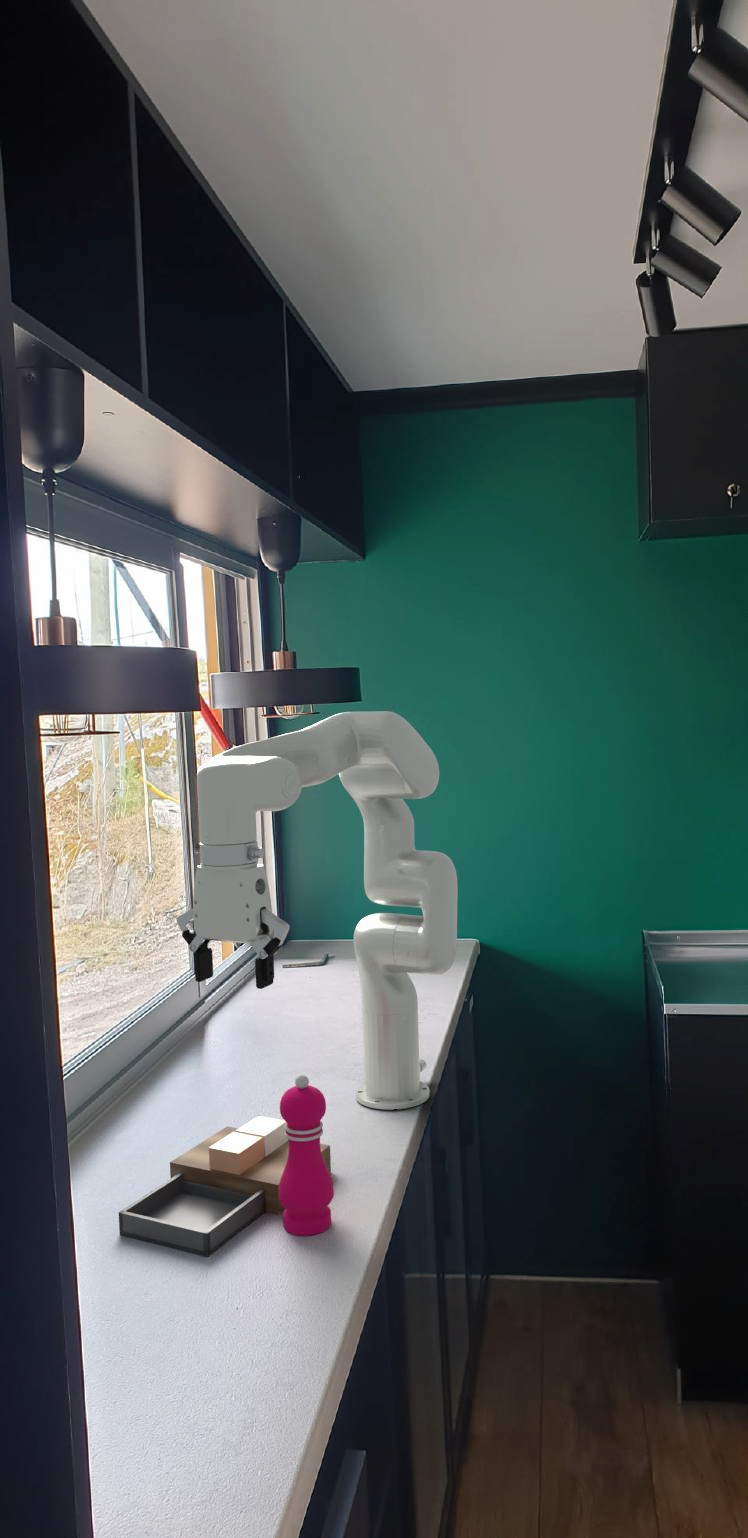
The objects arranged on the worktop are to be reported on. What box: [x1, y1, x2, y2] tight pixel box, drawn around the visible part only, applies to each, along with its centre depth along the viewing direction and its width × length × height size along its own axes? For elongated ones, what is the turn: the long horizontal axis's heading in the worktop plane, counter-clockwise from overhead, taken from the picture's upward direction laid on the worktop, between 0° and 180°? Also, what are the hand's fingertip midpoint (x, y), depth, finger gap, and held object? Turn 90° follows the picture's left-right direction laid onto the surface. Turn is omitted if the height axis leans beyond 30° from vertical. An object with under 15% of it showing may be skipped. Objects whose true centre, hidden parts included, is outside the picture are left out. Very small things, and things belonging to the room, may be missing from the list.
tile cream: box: [236, 1115, 288, 1157], centre depth 161 cm, size 6×5×3 cm
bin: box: [118, 1172, 266, 1258], centre depth 147 cm, size 13×14×3 cm
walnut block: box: [169, 1126, 332, 1215], centre depth 159 cm, size 14×18×4 cm
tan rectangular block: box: [209, 1132, 264, 1175], centre depth 156 cm, size 6×5×3 cm
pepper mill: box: [279, 1074, 335, 1237], centre depth 145 cm, size 7×7×20 cm
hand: (234, 982), depth 148 cm, fingers open, 9 cm apart
